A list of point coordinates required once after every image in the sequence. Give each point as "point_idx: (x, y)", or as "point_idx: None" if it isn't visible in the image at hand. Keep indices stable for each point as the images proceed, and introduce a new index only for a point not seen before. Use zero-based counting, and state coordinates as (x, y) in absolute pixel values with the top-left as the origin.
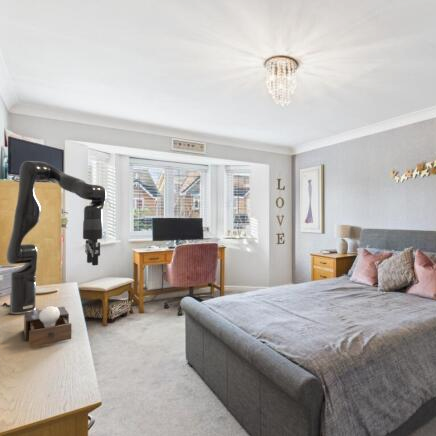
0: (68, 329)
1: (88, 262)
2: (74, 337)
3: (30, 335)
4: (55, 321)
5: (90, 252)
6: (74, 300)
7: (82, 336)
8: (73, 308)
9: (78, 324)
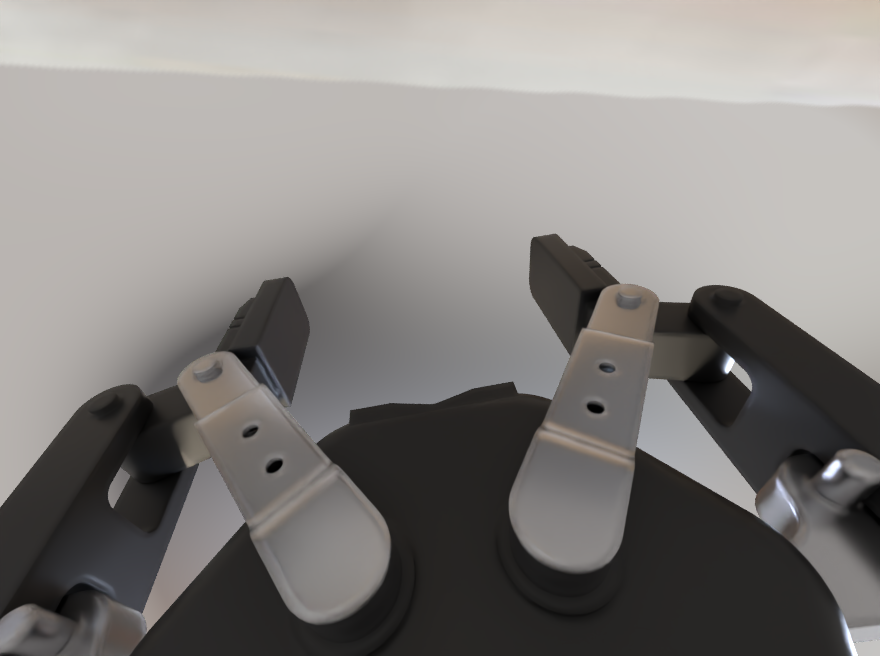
0: None
1: (532, 248)
2: (115, 21)
3: None
4: None
5: (250, 389)
6: (835, 97)
7: (123, 66)
8: (682, 75)
9: (355, 69)
